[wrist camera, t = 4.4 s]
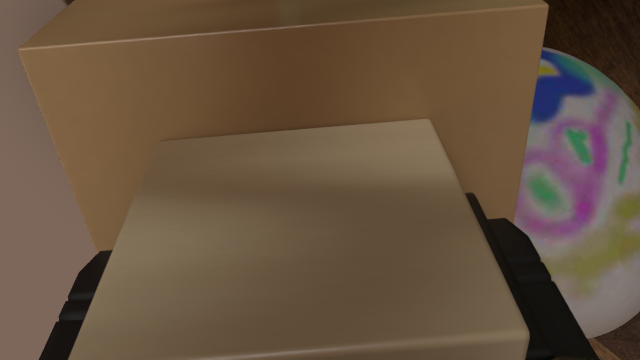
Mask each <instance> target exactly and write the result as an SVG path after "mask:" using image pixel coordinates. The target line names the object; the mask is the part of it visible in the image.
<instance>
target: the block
mask: <svg viewBox="0 0 640 360" xmlns="http://www.w3.org/2000/svg"><path fill="white" fill-rule="evenodd" d="M529 340H530V332H529V330H528V327H527V325H526V323H525V321H524V319H523V317H522V315H521V312H520V310H519V308H518V306H517V304H516V302H515V300H514V298H513V295H512V293H511V291H510V289H509V287H508V285H507V283H506V280H505V278H504V276H503V274H502V272H501V270H500V268H499V265H498V263H497V261H496V259H495V257H494V255H493V253H492V250H491V248H490V246H489V244H488V242H487V240H486V238H485V235H484V233H483V231H482V229H481V227H480V225H479V223H478V220H477V218H476V216H475V214H474V212H473V210H472V208H471V205H470V203H469V201H468V199H467V197H466V195H465V193H464V190H463V188H462V186H461V184H460V182H459V180H458V178H457V176H456V173H455V171H454V169H453V167H452V165H451V163H450V161H449V158H448V156H447V154H446V152H445V150H444V148H443V146H442V143H441V141H440V139H439V137H438V135H437V133H436V131H435V128H434V126H433V124H432V122H431V120H429V119H416V120H404V121H392V122H380V123H368V124H356V125H344V126H333V127H321V128H309V129H297V130H285V131H273V132H261V133H249V134H237V135H225V136H213V137H201V138H189V139H177V140H165V141H160V142H157V143H156V145H155V148H154V150H153V153H152V155H151V158H150V160H149V162H148V165H147V167H146V170H145V172H144V175H143V177H142V180H141V182H140V185H139V187H138V189H137V192H136V194H135V197H134V199H133V202H132V204H131V207H130V209H129V211H128V214H127V216H126V219H125V221H124V224H123V226H122V229H121V231H120V234H119V236H118V238H117V241H116V243H115V246H114V248H113V251H112V253H111V256H110V258H109V261H108V263H107V265H106V268H105V270H104V273H103V275H102V278H101V280H100V283H99V285H98V287H97V290H96V292H95V295H94V297H93V300H92V302H91V305H90V307H89V310H88V312H87V314H86V317H85V319H84V322H83V324H82V327H81V329H80V332H79V334H78V336H77V339H76V341H75V344H74V346H73V349H72V351H71V354H70V356H69V359H68V360H525V358H526V353H527V349H528V344H529Z"/></svg>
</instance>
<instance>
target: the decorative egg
mask: <svg viewBox="0 0 640 360" xmlns="http://www.w3.org/2000/svg"><path fill="white" fill-rule="evenodd" d="M513 224H514V225H515V226H517V227H518V228H519V229H520V230H522V231H523V232H524V233H525V234H527V235H528V236H529V238H530V240H531V242H532V243H533V245H534V247H535V249H536V250H537V252H538V254H539V256H540V257H541V262H543V263H544V264H545V266H546V268H547V270H548V271H549V273H550V275H551V279H552V281H554V282H555V284H556V285H557V287H558V289H559V291H560V292H561V294H562V296H563V298H564V299H565V301H566V303H567V305H568V306H569V308H570V310H571V312H572V313H573V315H574V317H575V319H576V320H577V322H578V324H579V326H580V327H581V329H582V331H583V333H584V334H585V336H586V338H587V339H588V338H592V337H597V336H600V335H602V334H605V333H607V332H610V331H612V330H614V329H616V328H618V327H620V326H621V325H623V324H624V323H626V322H627V321H629V320H630V319H631V318H632V317H634V316H635V315H636V314H637V313H638V312H639V311H640V110H639V109H638V107H637V106H636V105H635V103H634V102H633V101H632V100H631V99H630V98H629V97H628V96H627V95H626V94H625V93H624V92H623V91H622V90H621V89H620V88H619V87H618V85H617V84H616V83H614V82H613V81H612V80H610V79H609V78H608V77H607V76H605V75H604V74H603V73H601V72H600V71H598V70H597V69H596V68H594V67H592V66H591V65H589V64H587V63H586V62H584V61H582V60H580V59H577V58H575V57H573V56H571V55H568V54H566V53H563V52H560V51H557V50H554V49H551V48H546V47H542V52H541V59H540V65H539V71H538V77H537V83H536V89H535V95H534V101H533V107H532V113H531V120H530V126H529V132H528V138H527V144H526V150H525V156H524V162H523V168H522V174H521V181H520V187H519V193H518V199H517V205H516V211H515V217H514V223H513Z"/></svg>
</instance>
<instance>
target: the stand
mask: <svg viewBox="0 0 640 360" xmlns="http://www.w3.org/2000/svg"><path fill="white" fill-rule="evenodd" d="M548 10H549V5H548V4H547V3H546V2H544V1H543V0H74V1H73V2H72V3H71V4H70V5H69V6H67V7H66V8H65V9H64V10H63V11H61V12H60V13H59V14H58V15H57V16H56V17H54V18H53V19H52V20H51V21H50V22H49V23H48V24H46V25H45V26H44V27H43V28H42V29H40V30H39V31H38V32H37V33H36V34H34V35H33V36H32V37H31V38H30V39H29V40H28V41H26V42H25V43H24V44H23V45H22V46H20V47H19V48H18V53H19V56H20V58H21V61H22V64H23V66H24V68H25V71H26V74H27V76H28V79H29V81H30V84H31V86H32V89H33V91H34V94H35V97H36V99H37V102H38V104H39V106H40V109H41V112H42V114H43V117H44V119H45V122H46V125H47V127H48V130H49V132H50V135H51V137H52V140H53V142H54V145H55V147H56V150H57V152H58V155H59V158H60V160H61V163H62V165H63V167H64V170H65V173H66V175H67V178H68V180H69V183H70V186H71V188H72V191H73V193H74V196H75V198H76V201H77V203H78V206H79V208H80V211H81V214H82V216H83V219H84V221H85V224H86V226H87V229H88V231H89V234H90V236H91V239H92V241H93V244H94V247H95V249H96V252H97V254H98V253H99V252H100V251H107V250H113V248H114V246H115V243H116V241H117V238H118V236H119V234H120V231H121V229H122V226H123V224H124V221H125V219H126V216H127V214H128V211H129V209H130V207H131V204H132V202H133V199H134V197H135V194H136V192H137V189H138V187H139V185H140V182H141V180H142V177H143V175H144V172H145V170H146V167H147V165H148V162H149V160H150V158H151V155H152V153H153V150H154V148H155V145H156V143H157V142H160V141H165V140H177V139H189V138H201V137H213V136H225V135H237V134H249V133H261V132H273V131H285V130H297V129H309V128H321V127H333V126H344V125H356V124H368V123H380V122H392V121H404V120H416V119H429V120H431V122H432V124H433V126H434V128H435V131H436V133H437V135H438V137H439V139H440V141H441V143H442V146H443V148H444V150H445V152H446V154H447V156H448V158H449V161H450V163H451V165H452V167H453V169H454V171H455V173H456V176H457V178H458V180H459V182H460V184H461V186H462V188H463V190H464V193H469V192H472V193H474V194H475V196H476V197H477V199H478V201H479V203H480V205H481V207H482V209H483V211H484V214H485V216H486V218H487V219H497V218H507V219H508V220H509V221H510V222H512V223H514V217H515V211H516V205H517V199H518V193H519V187H520V181H521V174H522V168H523V162H524V156H525V150H526V144H527V138H528V132H529V126H530V120H531V113H532V107H533V101H534V95H535V89H536V83H537V77H538V71H539V65H540V59H541V52H542V46H543V40H544V34H545V28H546V22H547V16H548Z"/></svg>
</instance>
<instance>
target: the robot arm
mask: <svg viewBox="0 0 640 360" xmlns="http://www.w3.org/2000/svg"><path fill="white" fill-rule="evenodd" d="M465 195H466V197H467V199H468V201H469V203H470V205H471V208H472V210H473V212H474V214H475V216H476V218H477V220H478V223H479V225H480V227H481V229H482V231H483V233H484V235H485V238H486V240H487V242H488V244H489V246H490V248H491V250H492V253H493V255H494V257H495V259H496V261H497V263H498V265H499V268H500V270H501V272H502V274H503V276H504V278H505V280H506V283H507V285H508V287H509V289H510V291H511V293H512V295H513V298H514V300H515V302H516V304H517V306H518V308H519V310H520V312H521V315H522V317H523V319H524V321H525V323H526V325H527V327H528V330H529V332H530V340H529V344H528V349H527V353H526V358H525V360H600V359H599V358H598V356H597V355H596V353H595V352H594V350H593V348H592V347H591V345H590V343H589V341H588V340H587V338H586V336H585V334H584V333H583V331H582V329H581V327H580V326H579V324H578V322H577V320H576V319H575V317H574V315H573V313H572V312H571V310H570V308H569V306H568V305H567V303H566V301H565V299H564V298H563V296H562V294H561V292H560V291H559V289H558V287H557V285H556V284H555V282H554V281H552V279H551V275H550V273H549V271H548V270H547V268H546V266H545V264H544V263H543V262H541V257H540V256H539V254H538V252H537V250H536V249H535V247H534V245H533V243H532V242H531V240H530V238H529V236H528V235H527V234H525V233H524V232H523V231H522V230H520V229H519V228H518V227H517V226H515V225H514V224H513V223H512V222H510V221H509V220H508V219H507V218H497V219H487V218H486V216H485V214H484V211H483V209H482V207H481V205H480V203H479V201H478V199H477V197H476V196H475V194H474V193H472V192H469V193H465ZM112 251H113V250H107V251H100V252H99V253H98V254H97V255H96V256H95V257H94V258H93V259H92V260H91V261H90V262H89V263H88V264H87V265H86V266H85V267H84V268H83V269H82V270H81V271H80V272H79V273H78V276H77V278H76V280H75V282H74V285H73V287H72V289H71V291H70V293H69V295H68V301H66V302H65V304H64V306H63V308H62V311H61V313H60V315H59V322H56V323H55V326H54V328H53V330H52V332H51V334H50V337H49V339H48V341H47V343H46V345H45V348H44V350H43V352H42V354H41V356H40V358H39V360H68V359H69V356H70V354H71V351H72V349H73V346H74V344H75V341H76V339H77V336H78V334H79V332H80V329H81V327H82V324H83V322H84V319H85V317H86V314H87V312H88V310H89V307H90V305H91V302H92V300H93V297H94V295H95V292H96V290H97V287H98V285H99V283H100V280H101V278H102V275H103V273H104V270H105V268H106V265H107V263H108V261H109V258H110V256H111V253H112Z"/></svg>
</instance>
